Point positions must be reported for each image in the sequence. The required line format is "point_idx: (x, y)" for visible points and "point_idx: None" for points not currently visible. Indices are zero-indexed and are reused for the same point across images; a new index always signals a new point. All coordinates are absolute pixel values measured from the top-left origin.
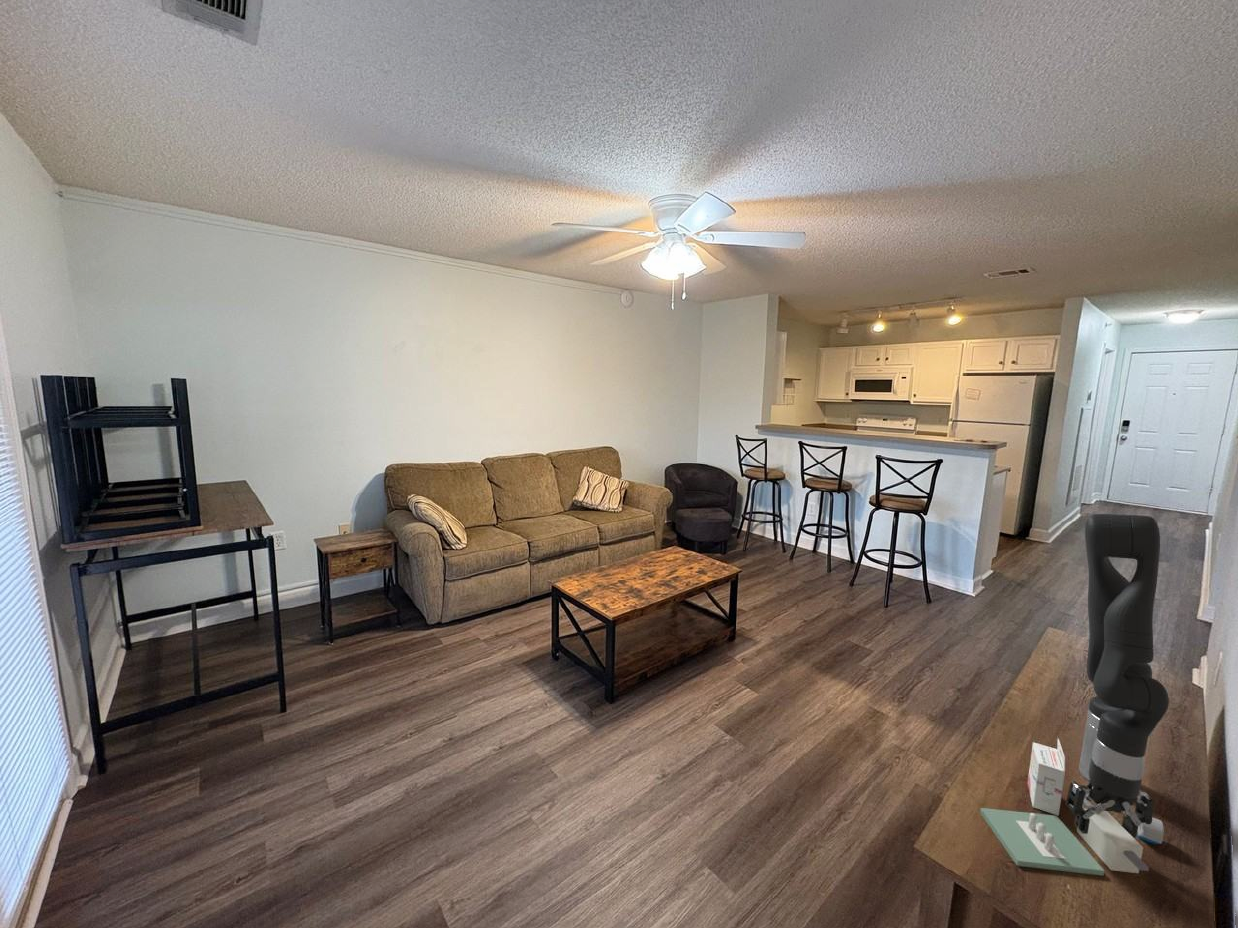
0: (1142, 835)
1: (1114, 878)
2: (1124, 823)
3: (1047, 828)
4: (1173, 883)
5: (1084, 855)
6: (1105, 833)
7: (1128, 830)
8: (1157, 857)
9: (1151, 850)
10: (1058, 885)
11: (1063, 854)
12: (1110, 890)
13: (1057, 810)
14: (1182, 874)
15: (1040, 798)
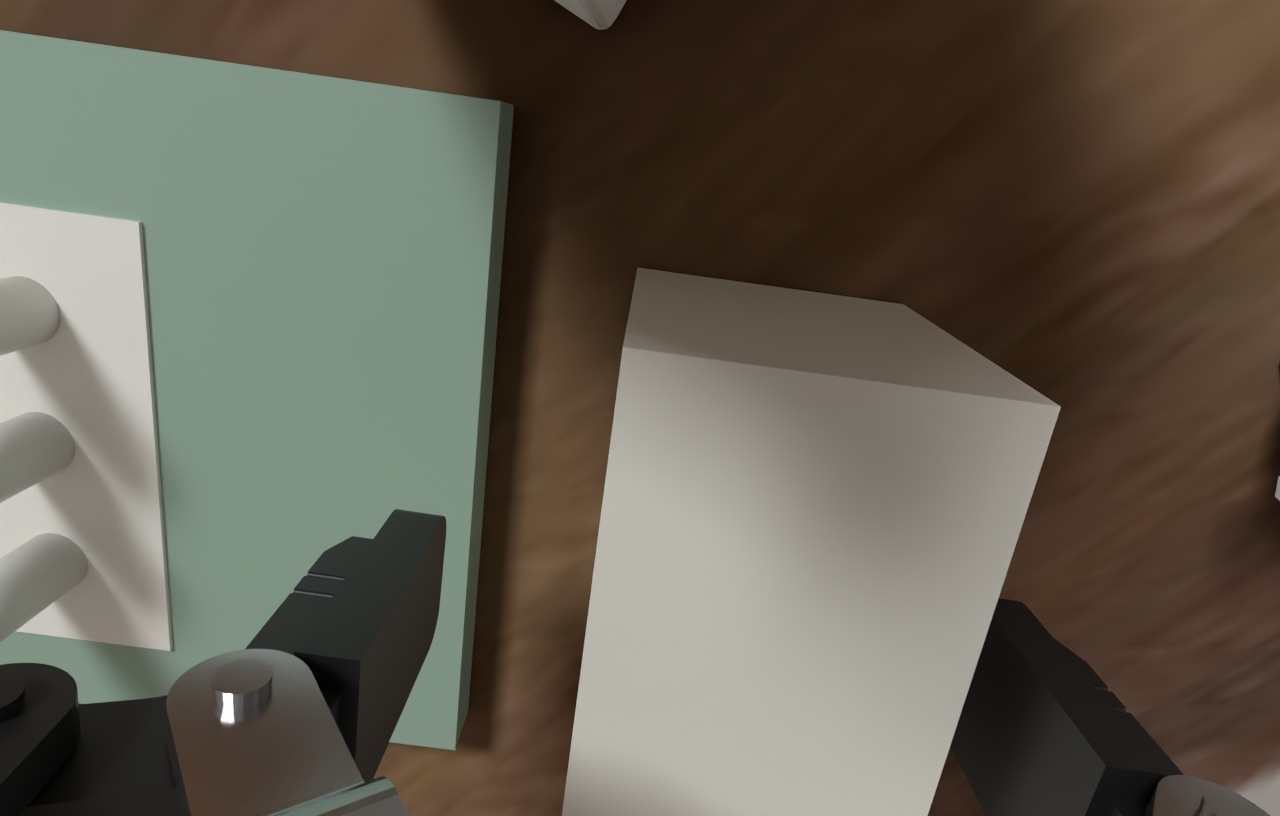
0: (1277, 497)
1: (542, 731)
2: (1035, 712)
3: (229, 306)
4: None
5: None
6: (573, 792)
7: (988, 749)
8: (1184, 568)
9: (1224, 498)
10: None
11: (188, 603)
12: (414, 810)
13: (578, 14)
14: (1198, 713)
15: None
